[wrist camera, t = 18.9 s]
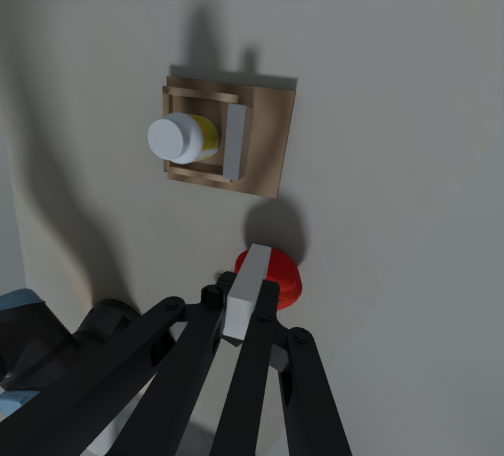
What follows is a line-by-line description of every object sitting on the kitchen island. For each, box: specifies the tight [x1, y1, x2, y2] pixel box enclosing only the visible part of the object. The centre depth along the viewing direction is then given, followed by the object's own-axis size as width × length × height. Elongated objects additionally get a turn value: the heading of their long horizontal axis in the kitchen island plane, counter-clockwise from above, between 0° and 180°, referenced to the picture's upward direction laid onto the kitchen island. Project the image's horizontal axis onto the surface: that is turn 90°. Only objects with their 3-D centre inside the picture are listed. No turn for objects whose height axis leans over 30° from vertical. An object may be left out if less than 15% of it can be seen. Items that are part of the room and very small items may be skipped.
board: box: [163, 76, 296, 199], centre depth 38 cm, size 20×16×3 cm
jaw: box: [222, 103, 253, 181], centre depth 35 cm, size 2×10×5 cm, turn 173°
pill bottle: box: [148, 112, 221, 164], centre depth 33 cm, size 6×6×12 cm
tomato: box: [234, 248, 302, 310], centre depth 42 cm, size 11×13×10 cm
